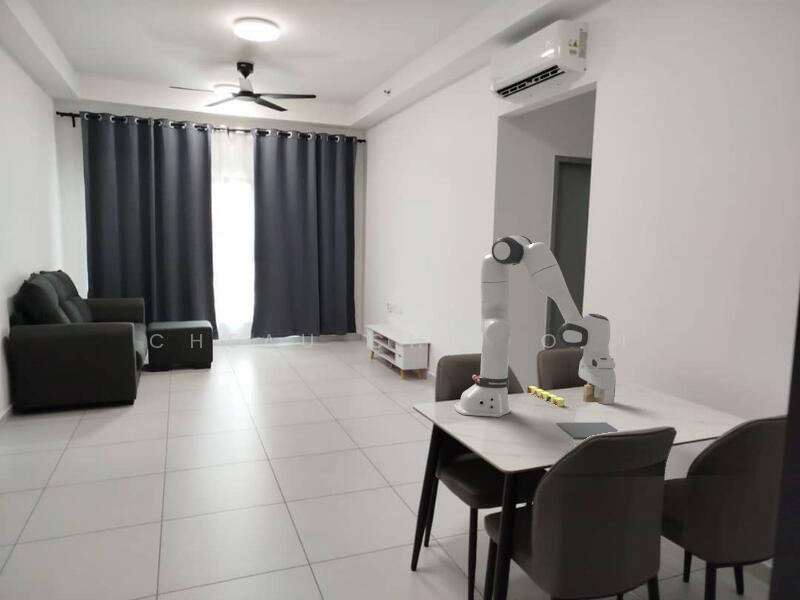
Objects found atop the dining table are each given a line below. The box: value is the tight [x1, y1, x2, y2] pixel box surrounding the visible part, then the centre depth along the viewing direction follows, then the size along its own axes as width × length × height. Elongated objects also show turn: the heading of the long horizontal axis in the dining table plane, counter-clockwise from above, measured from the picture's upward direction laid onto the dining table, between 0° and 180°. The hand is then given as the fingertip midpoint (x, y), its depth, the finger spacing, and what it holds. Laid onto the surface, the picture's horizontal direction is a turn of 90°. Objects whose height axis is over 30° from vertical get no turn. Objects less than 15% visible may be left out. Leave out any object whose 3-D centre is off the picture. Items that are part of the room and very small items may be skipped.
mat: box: [555, 421, 619, 440], centre depth 202 cm, size 20×16×1 cm
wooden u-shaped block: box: [582, 384, 605, 403], centre depth 201 cm, size 7×2×6 cm, turn 96°
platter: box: [526, 385, 565, 407], centre depth 242 cm, size 32×32×3 cm
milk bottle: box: [597, 357, 617, 405], centre depth 240 cm, size 8×8×20 cm
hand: (593, 395), depth 201 cm, fingers closed on wooden u-shaped block, 2 cm apart
